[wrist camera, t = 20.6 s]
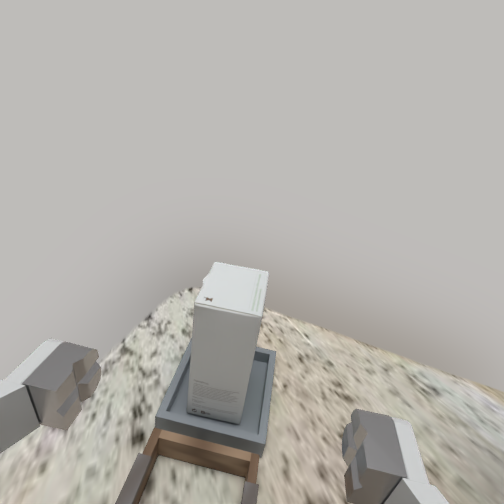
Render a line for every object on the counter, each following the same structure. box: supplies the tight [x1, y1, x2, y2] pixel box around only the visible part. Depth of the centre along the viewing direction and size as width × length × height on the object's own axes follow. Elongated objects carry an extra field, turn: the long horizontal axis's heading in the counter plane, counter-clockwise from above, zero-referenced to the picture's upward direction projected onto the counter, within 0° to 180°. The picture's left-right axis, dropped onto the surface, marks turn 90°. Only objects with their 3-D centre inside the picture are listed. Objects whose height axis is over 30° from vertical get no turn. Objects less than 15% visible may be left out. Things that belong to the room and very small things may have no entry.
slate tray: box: [155, 338, 276, 457], centre depth 38 cm, size 12×13×2 cm
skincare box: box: [186, 262, 269, 424], centre depth 34 cm, size 8×7×16 cm
